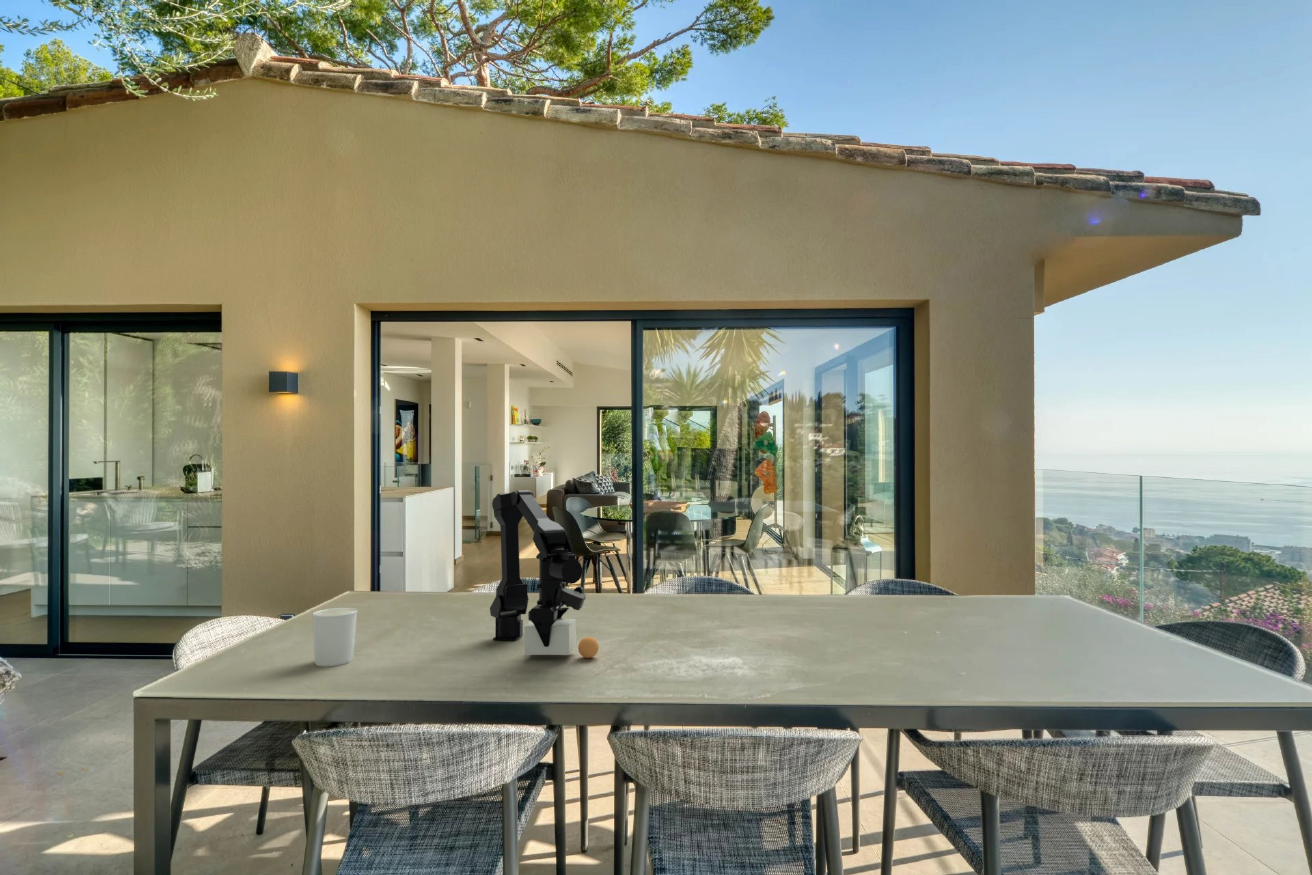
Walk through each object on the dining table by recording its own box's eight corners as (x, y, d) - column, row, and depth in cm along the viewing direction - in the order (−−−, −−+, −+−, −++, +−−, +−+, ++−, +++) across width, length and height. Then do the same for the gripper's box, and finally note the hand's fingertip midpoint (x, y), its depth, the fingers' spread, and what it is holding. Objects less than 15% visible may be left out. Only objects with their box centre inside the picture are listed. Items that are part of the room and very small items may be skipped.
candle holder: (301, 665, 153) (302, 614, 154) (333, 654, 163) (334, 606, 163) (335, 669, 151) (336, 617, 151) (365, 657, 160) (366, 608, 161)
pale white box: (524, 654, 157) (524, 626, 157) (533, 646, 164) (533, 619, 164) (569, 654, 155) (568, 626, 156) (576, 646, 163) (575, 619, 163)
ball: (591, 636, 156) (599, 656, 156) (596, 631, 161) (603, 650, 161) (572, 644, 157) (580, 663, 156) (578, 638, 162) (585, 657, 161)
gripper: (574, 585, 151) (574, 653, 150) (590, 572, 169) (590, 633, 168) (527, 584, 152) (527, 652, 151) (548, 572, 170) (548, 632, 169)
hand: (550, 642), depth 160 cm, fingers closed on pale white box, 7 cm apart
